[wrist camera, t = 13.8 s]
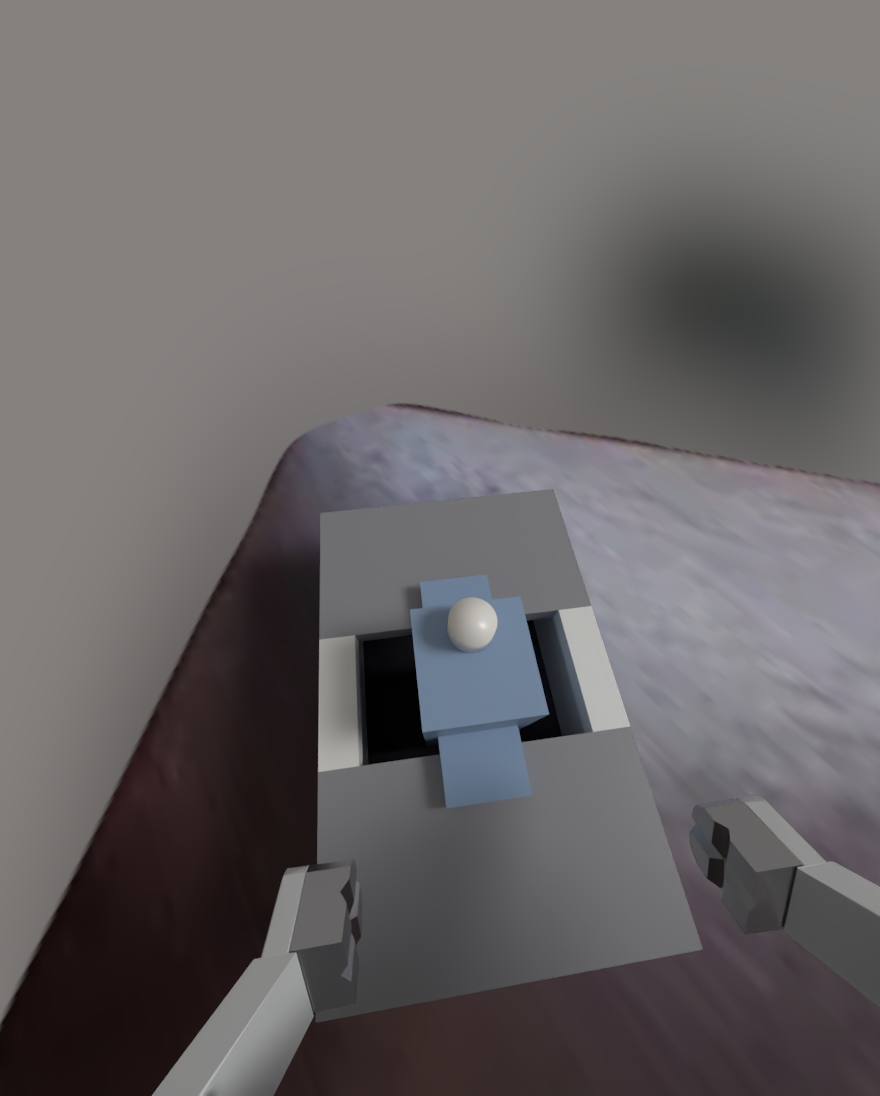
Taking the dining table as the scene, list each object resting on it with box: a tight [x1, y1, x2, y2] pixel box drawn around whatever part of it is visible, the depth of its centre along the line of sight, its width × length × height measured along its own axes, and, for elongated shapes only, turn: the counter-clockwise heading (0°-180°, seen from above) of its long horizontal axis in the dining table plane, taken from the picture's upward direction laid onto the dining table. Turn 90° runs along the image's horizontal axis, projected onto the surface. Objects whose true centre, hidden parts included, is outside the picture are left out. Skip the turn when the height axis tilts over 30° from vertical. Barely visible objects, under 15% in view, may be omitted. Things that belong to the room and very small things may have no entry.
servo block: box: [410, 574, 549, 809], centre depth 17 cm, size 4×8×9 cm, turn 8°
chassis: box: [316, 489, 703, 1023], centre depth 19 cm, size 12×18×6 cm, turn 8°
